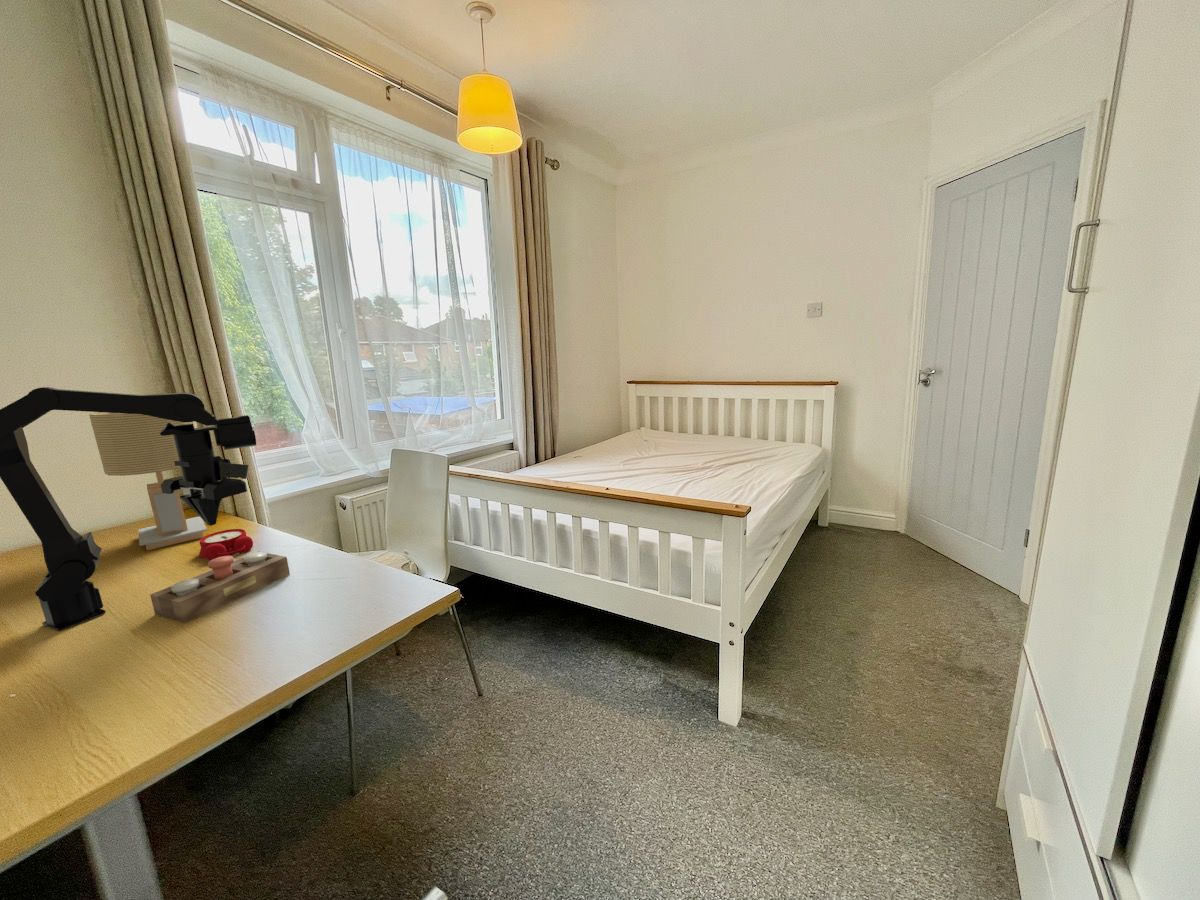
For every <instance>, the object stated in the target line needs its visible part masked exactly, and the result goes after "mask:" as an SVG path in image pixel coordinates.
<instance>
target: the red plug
mask: <svg viewBox="0 0 1200 900" xmlns="http://www.w3.org/2000/svg"><path fill="white" fill-rule="evenodd" d="M234 561H235V560H234V557H233V555H228V556H222V557H218V558H215V559H212V560H208V562H207V566H208V569H210V570H213V574H214V578H215V580H218V581H219V580H221V579H224V578H226V577H229V576H231V575H233V571H232V566H231V564H232V563H233V562H234Z"/></svg>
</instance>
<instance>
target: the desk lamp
mask: <svg viewBox="0 0 1200 900" xmlns="http://www.w3.org/2000/svg"><path fill="white" fill-rule="evenodd" d="M88 416H89V420H90V423H91V427H92V430H93V435H94V438H95V441H96V445H97V446H96V447H97V449H98V452H99V453H98V454H99V457H100V461H101V464H102V469H103V471H104V474H105V475H107V476H115V477H116V476H120V477H121V476H122V477H123V476H125V477H126V476H132V475H133V476H135V475H136V476H137V475H145V474H152V473H155V477H156V480H157V482H153V483H152V482H151V483H146V488H147V489H146V491H147V495H148V498H149V502H150V503H149V504H150V506H151V510H152V514H153V518H154V523H155V525H152V526H148V527H143V528H139V529H138V543H139V544H138V545H139V547H141V546H145V547H146V550H147V551H150V550H155V549H159V548H164V547H166V546H167V547H168V546H171V545H176V544H179V543H184V542H189V541H193V540H197V539H200V538H203V537H204V533H203V532H208V528H207V526H206V523H205V521H204V520H203V519H202V518H201V517H200V516H199V515H198V516H195V517H194V516H193V517H191V518H186V517H185V512H184V507H183V504H182V499H180V496H181V495H180V489H179V490H174V492H173V493H172V494H166V493H162V488H161V484H162V482H163V481H164V480H165V479H164V474H163V472H166V471H170V470H177V469H181V467H180V466H175V463H174V461H177V460H179V458H178V454H177V449H176V445H175V441H174V437H173V435H166V436H161V435H160V431H161V430H163V429H164V428H165V427H166V425H167V423H168V422H170V423H172V424H173V425H175V426H176V425H186V424H193V425H194V428H198V425H197V424H198V423H197V422H195V421H193V422H179V421H173V420H168V419H162V418H158V417H153V416H148V415H142V414H127V413H107V412H91V413H89V414H88Z"/></svg>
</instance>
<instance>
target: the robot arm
mask: <svg viewBox="0 0 1200 900" xmlns="http://www.w3.org/2000/svg"><path fill="white" fill-rule="evenodd" d="M52 411H70V412H71V411H72V412H89V413H97V412H107V413H127V414H142V415H148V416H153V417H158V418H162V419H168V420H173V421H179V422H193V421H195V422H196V423H197V424H200V425H204V427H203V426H202V427H197V428H194V425H193V424H186V425H176V426H175V425H173V424H172V423H170V422H168V423H167V425H166V427H165V428H164V429H163V430H161V431H160V435H161V436H166V435H173V437H174V441H175V445H176V449H177V454H178V458H179V460H177V461H174V463H175V466H180V467H181V468H180V470H181V474H182V475H180V476H175V477H174V476H173V477H169V478H165V479H164V481H163V482H162V484H161V488H162V493H166V494H172V493H173V492H174V490H179V491H180V490H182V493H183V495H180V499H181V500H183V501H184V503H186V505H188V506H189V507H190V508H191V509H192V510H193V511H194V512H195V513H196V514H197V515H198V517H199V516H200V517H201V518H202V520H203V522H204V523H205V524H207V526H214V525H216V524H217V519H218V514H219V508H220V505H221V502H222V500H223V499H225V498H229V497H232V496H236V495H240V494H243V493H247V492H248V487H247V483H246V481H244V480H243V479H245V480H246V479H247V477H248V471H249V464H240V463H231V460H230V459H229V458H222V457H221V456H220V455H215V451H214V446H213V443H212V437H211V433H210V431H213V435H214V440H215V445H216V446H217V447H220V446H221V447H223V449H224V450H225V451H227V450H232V449H233V450H234V449H241V448H250V447H257V439H256V432H255V430H254V429H253V426H252V423H251V422H252V421H251V417H250V416H249V415H248V414H243V415H238V416H236V417H235V416H234V417H226V418H217V417H216V415H215V414H211V413H210V412H209V411H208V410H206V407H205V404H204V403H203V401H202V399H201V398H200V397H198V396H197V395H195V394H193V393H190V392H167V393H152V394H133V393H132V394H131V393H117V392H103V391H89V390H76V389H64V388H63V389H62V388H60V389H59V388H56V387H55V388H54V387H51V386H44V387H38V388H34V389H32V390H31V391H29V392H28V393H27V394H26V395H24V396H23V397H21V398H19V399H17V400H15V401H13V402H12V403H10V404H7V405H6V406H4V407H2V408H0V480H1V481H2V482H3V484H4V486H5V487H6V490H7V491H8V492H9V494H10V496H11V497H12V498H13V500H14V501H15V503H16V505H17V506H18V508H19V510H20V511H21V512H22V514H23V516H24V517H25V518H26V520H27V522H28V524H29V525H30V527H31V528H32V530H33V531H34V533H35V534H36V536H37V537H38V539H39V540H40V542H41V546H42V552H43V553H42V554H43V557H44V559H43V560H44V562H45V565H46V568H47V572H48V573H47V574H46V575H45V576H43V579H42V581H41V582H40V583H39V585H38V587H37V589H36V590H35V592H34V594H35V596H36V597H37V598H38V600H39V603H40V607H41V609H42V613H43V616H44V619H45V621H42V622H41V624H42V626H44V627H47V628H49V629H53V630H56V631H58V632H60V631H64V630H65V629H68V628H71V627H73V626H76V625H79V624H82V623H84V622H86V621H89V620H91V619H94V618H96V617H99V616H101V615H103V614H106V609H103V608H104V604H103V600H102V596H101V594H100V590H99V588H97V587H95V586H94V582H92V581H89V578H91V577H92V576H93V574H95V571H96V569H97V566H98V563H99V561H100V555H101V552H102V550H103V548H102V547H100V546H98V544H97V543H96V542H95V540H94V536H93V533H92V532H91V531H90V532H86V533H84V534H83V535H81V534H80V533H78V532H77V531H76V530H75V529H73V527H72V526H71V525H70V523H69V521H68V520H67V517H66V516H65V515H64V513H63V512H62V509H61V508H60V507H59V505H58V503H57V502H56V500H55V498H54V497H53V495H52V493H51V492H50V490H49V488H48V487H47V485H46V484H45V481H44V480H43V479H42V477H41V475H40V474H39V472H38V471H37V469H36V467H35V465H34V463H33V462H32V460H31V458H30V457H31V456H30V450H29V446H28V441H27V437H26V434H25V432H24V428H26V427H27V426H30V424H31V423H34V422H35V421H37V420H38V419H40V418H41V417H43V416H45V415H46V414H48V413H49V412H52Z"/></svg>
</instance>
